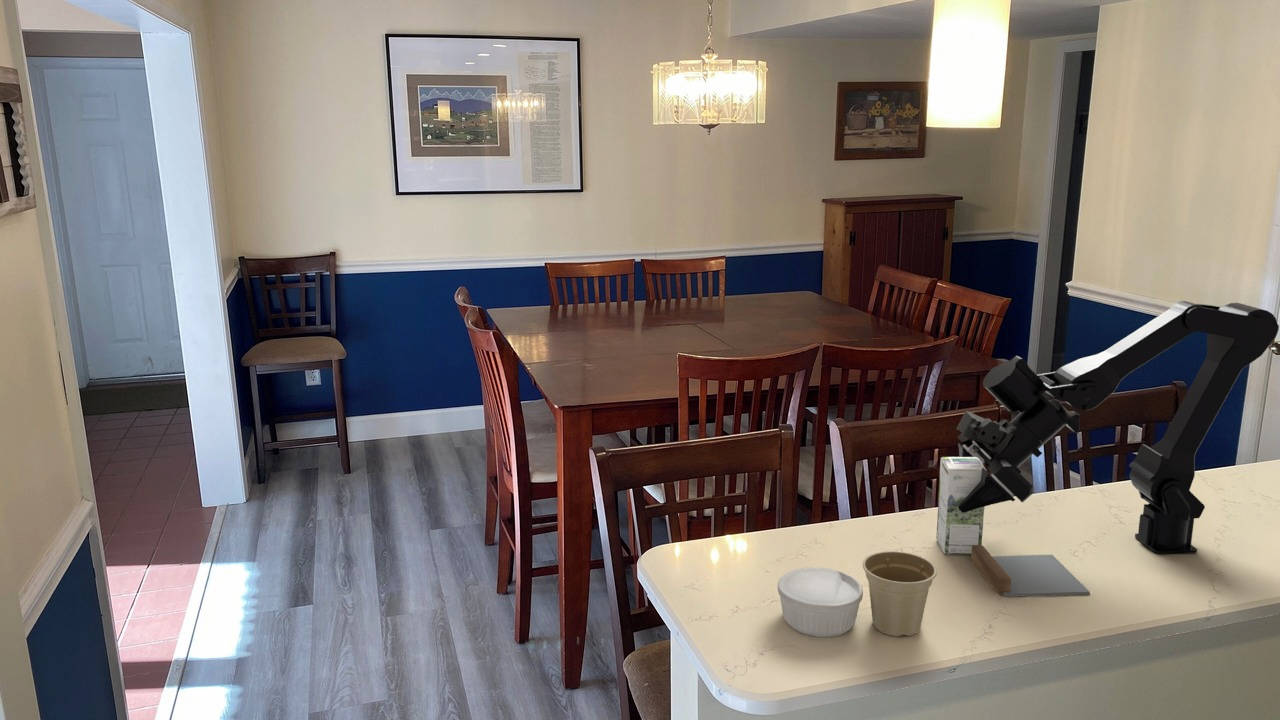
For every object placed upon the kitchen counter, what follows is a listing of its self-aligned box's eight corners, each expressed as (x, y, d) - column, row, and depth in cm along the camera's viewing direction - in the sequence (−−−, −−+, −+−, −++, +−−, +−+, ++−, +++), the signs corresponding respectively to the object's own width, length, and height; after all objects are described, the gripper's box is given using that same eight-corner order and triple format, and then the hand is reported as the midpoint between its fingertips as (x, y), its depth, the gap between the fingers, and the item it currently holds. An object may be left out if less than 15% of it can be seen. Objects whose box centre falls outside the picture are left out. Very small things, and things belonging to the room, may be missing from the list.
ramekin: (877, 634, 120) (878, 597, 119) (800, 649, 117) (800, 611, 116) (836, 595, 131) (837, 561, 129) (764, 608, 128) (764, 573, 126)
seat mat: (1052, 556, 140) (1052, 554, 140) (1089, 594, 128) (1089, 591, 128) (973, 559, 140) (974, 556, 140) (1004, 596, 129) (1004, 594, 128)
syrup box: (972, 540, 147) (977, 455, 143) (982, 556, 141) (987, 468, 138) (935, 540, 147) (939, 454, 144) (944, 556, 142) (948, 467, 138)
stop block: (981, 560, 140) (982, 545, 139) (1009, 594, 129) (1011, 578, 128) (971, 560, 140) (971, 545, 139) (998, 595, 129) (999, 578, 128)
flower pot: (935, 613, 125) (938, 555, 123) (932, 649, 116) (935, 586, 114) (864, 604, 128) (866, 547, 126) (857, 638, 119) (859, 577, 117)
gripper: (973, 380, 147) (901, 446, 150) (1015, 413, 129) (933, 488, 132) (1019, 426, 149) (948, 490, 152) (1067, 465, 131) (985, 537, 134)
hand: (952, 500), depth 142 cm, fingers open, 8 cm apart
